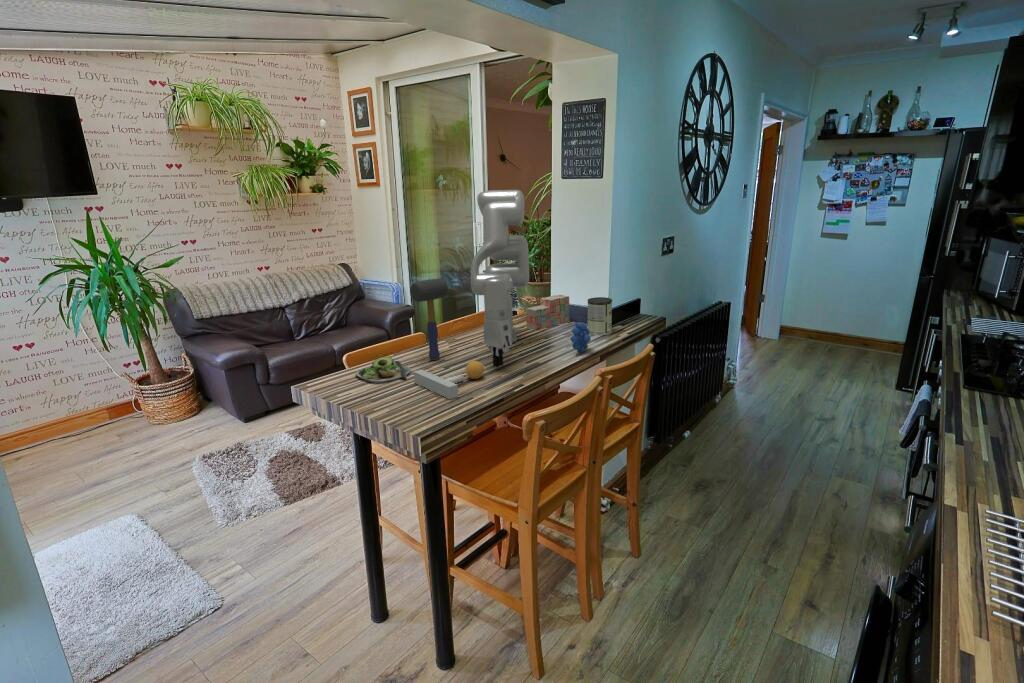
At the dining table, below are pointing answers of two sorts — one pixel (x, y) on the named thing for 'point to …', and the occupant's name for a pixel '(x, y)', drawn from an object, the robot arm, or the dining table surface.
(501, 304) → the robot arm
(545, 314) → the stack of blocks
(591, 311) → the coffee can
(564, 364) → the dining table surface
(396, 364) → the salad plate
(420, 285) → the rubber mallet
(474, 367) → the ball
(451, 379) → the pin
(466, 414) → the dining table surface
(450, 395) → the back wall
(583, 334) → the grapes
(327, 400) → the dining table surface
